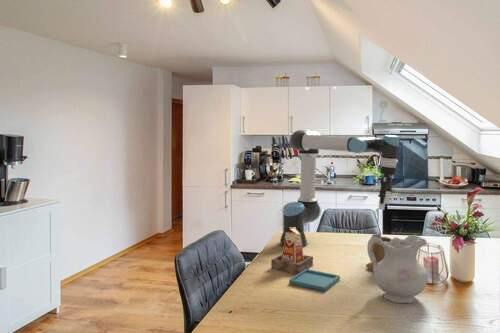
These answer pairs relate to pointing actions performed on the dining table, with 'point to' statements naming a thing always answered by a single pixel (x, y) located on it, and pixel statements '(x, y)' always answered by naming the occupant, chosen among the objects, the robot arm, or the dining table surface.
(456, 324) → the dining table surface
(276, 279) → the dining table surface
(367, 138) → the robot arm
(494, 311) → the dining table surface
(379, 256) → the stone cup
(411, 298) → the ceramic pitcher
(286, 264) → the holder
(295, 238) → the milk carton
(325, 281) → the tray
